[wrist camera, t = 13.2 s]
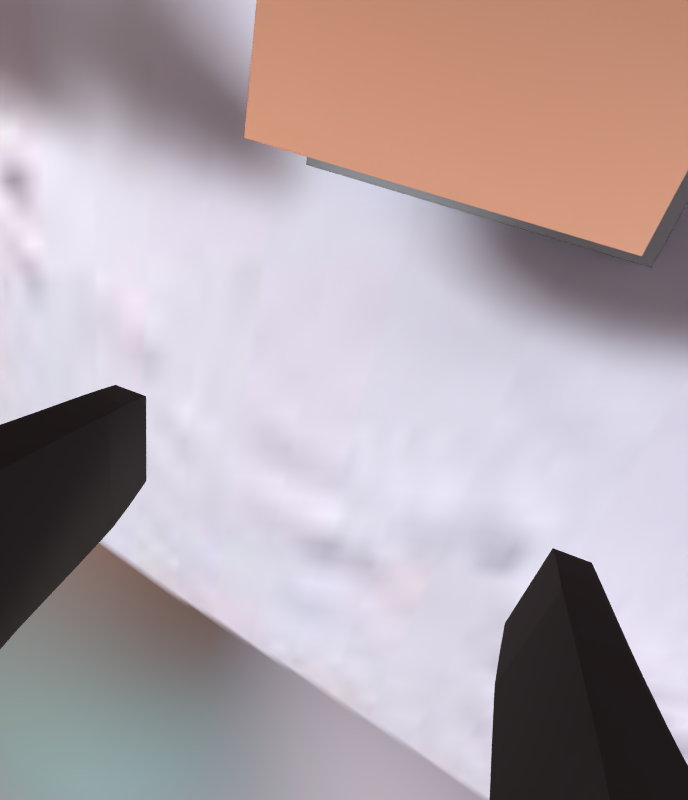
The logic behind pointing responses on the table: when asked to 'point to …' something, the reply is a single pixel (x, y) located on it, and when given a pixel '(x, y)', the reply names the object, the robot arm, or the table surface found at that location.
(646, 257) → the baseplate
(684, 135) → the terracotta block
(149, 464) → the table surface
